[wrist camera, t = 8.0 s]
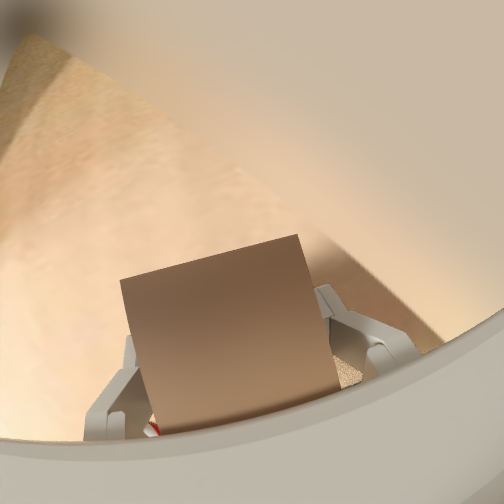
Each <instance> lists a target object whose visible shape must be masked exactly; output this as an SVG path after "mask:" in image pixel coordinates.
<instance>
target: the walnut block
mask: <svg viewBox="0 0 504 504" xmlns="http://www.w3.org/2000/svg"><path fill="white" fill-rule="evenodd" d="M120 284H121V290H122V295H123V300H124V305H125V310H126V314H127V319H128V324H129V328H130V332H131V336H132V341H133V345H134V349H135V353H136V356H137V360H138V364H139V368H140V371H141V375H142V378H143V382H144V385H145V388H146V392H147V395H148V398H149V401H150V404H151V407H152V411H153V414H154V417H155V419H156V422H157V425H158V428H159V431H160V434H161V435H169V434H175V433H182V432H188V431H194V430H200V429H205V428H210V427H216V426H220V425H225V424H230V423H234V422H239V421H243V420H247V419H251V418H255V417H259V416H263V415H267V414H270V413H274V412H278V411H281V410H285V409H288V408H291V407H295V406H298V405H301V404H304V403H307V402H310V401H313V400H316V399H319V398H322V397H325V396H328V395H331V394H334V393H336V392H339V391H342V390H341V386H340V382H339V378H338V374H337V370H336V366H335V363H334V359H333V355H332V351H331V348H330V344H329V340H328V336H327V333H326V329H325V326H324V322H323V318H322V315H321V311H320V308H319V304H318V301H317V297H316V294H315V291H314V287H313V284H312V280H311V277H310V274H309V270H308V267H307V264H306V261H305V257H304V254H303V251H302V248H301V244H300V241H299V238H298V235H297V234H295V235H291V236H287V237H283V238H279V239H275V240H271V241H267V242H264V243H260V244H256V245H252V246H248V247H244V248H240V249H236V250H233V251H229V252H225V253H221V254H217V255H213V256H210V257H206V258H202V259H198V260H194V261H190V262H187V263H183V264H179V265H175V266H171V267H167V268H164V269H160V270H156V271H152V272H148V273H145V274H141V275H137V276H133V277H130V278H126V279H122V280H120Z"/></svg>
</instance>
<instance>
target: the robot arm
mask: <svg viewBox="0 0 504 504" xmlns="http://www.w3.org/2000/svg"><path fill="white" fill-rule="evenodd" d="M314 291H315V294H316V297H317V301H318V304H319V308H320V311H321V315H322V318H323V322H324V326H325V329H326V333H327V336H328V340H329V344H330V348H331V351H332V354H333V355H335V356H336V357H338V358H339V359H341V360H343V361H344V362H346V363H347V364H349V365H350V366H352V367H354V368H355V369H357V370H358V371H360V372H361V373H363V376H362V381H361V383H360V384H357V385H355V386H352V387H350V388H347V389H344V390H342V391H339V392H336V393H334V394H331V395H328V396H325V397H322V398H319V399H316V400H313V401H310V402H307V403H304V404H301V405H298V406H295V407H291V408H288V409H285V410H281V411H278V412H274V413H270V414H267V415H263V416H259V417H255V418H251V419H247V420H243V421H239V422H234V423H230V424H225V425H220V426H216V427H210V428H205V429H200V430H194V431H188V432H182V433H175V434H169V435H161V436H153V437H149V436H147V435H146V434H145V433H144V432H143V431H144V429H145V427H146V425H147V423H148V421H149V419H150V417H151V415H152V413H153V411H152V407H151V404H150V401H149V398H148V395H147V392H146V388H145V385H144V382H143V378H142V375H141V371H140V368H139V364H138V360H137V356H136V353H135V349H134V345H133V341H132V336H131V335H128V336H127V338H126V343H125V352H124V361H123V369H121V370H119V371H118V372H117V373H116V375H115V376H114V377H113V379H112V380H111V381H110V383H109V384H108V385H107V386H106V388H105V389H104V390H103V392H102V393H101V394H100V396H99V397H98V398H97V400H96V401H95V402H94V404H93V405H92V406H91V408H90V409H89V410H88V412H87V413H86V420H85V429H84V439H83V441H74V442H67V441H34V440H20V439H9V438H0V504H504V308H503V309H501V310H500V311H498V312H497V313H495V314H494V315H492V316H491V317H489V318H488V319H486V320H485V321H483V322H481V323H480V324H478V325H476V326H475V327H473V328H471V329H470V330H468V331H466V332H465V333H463V334H461V335H460V336H458V337H456V338H454V339H452V340H451V341H449V342H447V343H445V344H443V345H442V346H440V347H438V348H436V349H434V350H432V351H430V352H428V353H426V354H424V355H422V354H421V353H420V352H419V350H418V349H417V348H416V346H415V345H414V343H413V342H412V341H411V339H410V338H409V337H408V335H407V334H406V333H405V332H403V331H401V330H398V329H396V328H394V327H391V326H389V325H386V324H384V323H382V322H379V321H377V320H375V319H372V318H370V317H368V316H365V315H363V314H360V313H358V312H356V311H353V310H350V311H348V310H347V308H346V307H345V305H344V304H343V302H342V301H341V299H340V298H339V296H338V295H337V293H336V292H335V290H334V289H333V287H332V286H331V285H330V284H329V283H328V284H325V285H322V286H319V287H316V288H314Z"/></svg>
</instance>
